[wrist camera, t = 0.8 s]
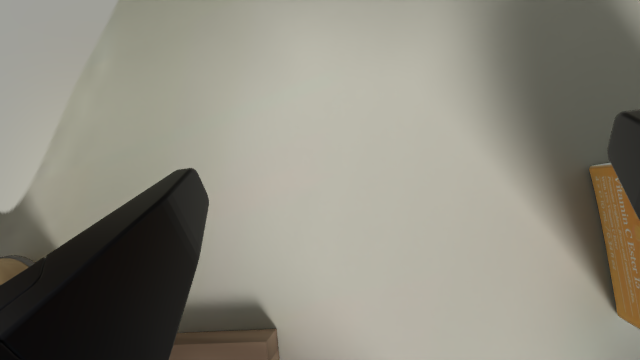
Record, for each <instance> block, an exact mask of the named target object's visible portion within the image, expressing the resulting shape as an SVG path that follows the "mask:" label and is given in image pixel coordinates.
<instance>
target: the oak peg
mask: <svg viewBox="0 0 640 360" xmlns="http://www.w3.org/2000/svg"><path fill="white" fill-rule="evenodd" d="M34 263H35V262H33V261H32V260H30V259H28V258H25V257H22V256H5V257H0V285H2V284H3V283H5V282H6V281H8V280H9V279H11V278H13V277H14V276H16V275H17V274H19V273H20V272H22V271H24V270H25V269H27V268H28V267H30V266H31V265H33V264H34Z"/></svg>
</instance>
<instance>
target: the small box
mask: <svg viewBox="0 0 640 360" xmlns="http://www.w3.org/2000/svg"><path fill="white" fill-rule="evenodd" d="M589 171H590V174H591V178H592V182H593V186H594V190H595V195H596V200H597V204H598V209H599V214H600V219H601V224H602V230H603V234H604V239H605V245H606V250H607V256H608V262H609V267H610V273H611V278H612V284H613V290H614V296H615V302H616V308H617V314H618V316H619V317H621V318H622V319H624V320H625V321H627V322H629V323H630V324H632V325H634V326H635V327H637V328H639V329H640V220H639V219H638V217H637V215H636V213H635V211H634V209H633V207H632V205H631V203H630V201H629V199H628V197H627V195H626V193H625V191H624V189H623V187H622V185H621V183H620V181H619V179H618V177H617V175H616V173H615V171H614V169H613V167H612V165H611V163H604V164H599V165H593V166H590V168H589Z"/></svg>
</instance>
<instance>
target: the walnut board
mask: <svg viewBox="0 0 640 360" xmlns="http://www.w3.org/2000/svg"><path fill="white" fill-rule="evenodd" d="M169 360H279V350H278V340H277V329H260V330H236V331H212V332H188V333H177V334H176V338H175V341H174V344H173V348H172V351H171V354H170V358H169Z"/></svg>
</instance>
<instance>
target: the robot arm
mask: <svg viewBox="0 0 640 360" xmlns="http://www.w3.org/2000/svg"><path fill="white" fill-rule="evenodd" d="M608 158H609V160H610V163H611V165H612V167H613V169H614V171H615V173H616V175H617V177H618V179H619V181H620V183H621V185H622V187H623V189H624V191H625V193H626V195H627V197H628V199H629V201H630V203H631V205H632V207H633V209H634V211H635V213H636V215H637V217H638V219H639V220H640V109H639V110H632V111H624V112H621V113H619V114H618V115H617V116H616V118H615V120H614V124H613V128H612V132H611V136H610V141H609V145H608ZM208 206H209V199H208V195H207V193H206V190H205V188H204V186H203V184H202V182H201V179H200V177H199V175H198V173H197V171H196V170H195V169H193V168H187V169H180V170H176V171H174V172H173V173H171V174H170V175H168V176H167V177H165V178H164V179H162V180H161V181H159V182H158V183H156V184H155V185H153V186H151V187H150V188H148V189H147V190H145V191H144V192H142V193H141V194H139V195H138V196H136V197H135V198H133V199H132V200H130V201H129V202H127V203H126V204H124V205H123V206H121V207H120V208H118V209H116V210H115V211H113V212H112V213H110V214H109V215H107V216H106V217H104V218H103V219H101V220H100V221H98V222H97V223H95V224H94V225H92V226H91V227H89V228H88V229H86V230H85V231H83V232H82V233H80V234H78V235H77V236H75V237H74V238H72V239H71V240H69V241H68V242H66V243H65V244H63V245H62V246H60V247H59V248H57V249H56V250H54V251H53V252H51V253H50V254H48V255H47V256H46V258H42V259H40V260H39V261H37V262H36V263H34V264H33V265H31V266H30V267H28V268H27V269H25V270H24V271H22V272H20V273H19V274H17V275H16V276H14V277H13V278H11V279H9V280H8V281H6V282H5V283H3V284H2V285H0V360H169V358H170V354H171V351H172V348H173V344H174V341H175V338H176V334H177V331H178V328H179V324H180V321H181V318H182V314H183V311H184V308H185V304H186V301H187V298H188V294H189V291H190V288H191V284H192V281H193V278H194V274H195V271H196V268H197V264H198V260H199V256H200V252H201V246H202V241H203V235H204V229H205V223H206V218H207V212H208Z"/></svg>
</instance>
